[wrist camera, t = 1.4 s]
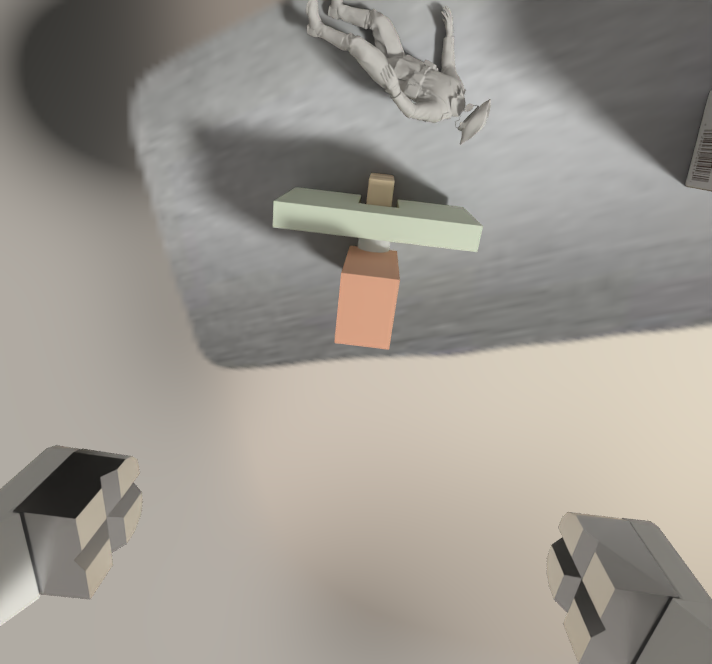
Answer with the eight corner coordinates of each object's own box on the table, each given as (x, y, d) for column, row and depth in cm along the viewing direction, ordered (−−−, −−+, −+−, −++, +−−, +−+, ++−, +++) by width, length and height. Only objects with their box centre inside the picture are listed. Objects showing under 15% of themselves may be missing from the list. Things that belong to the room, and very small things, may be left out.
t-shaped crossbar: (296, 187, 31) (254, 212, 21) (463, 207, 31) (499, 242, 21) (291, 274, 34) (253, 332, 24) (445, 292, 34) (470, 359, 24)
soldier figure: (363, -48, 27) (536, 33, 26) (356, 32, 32) (503, 106, 30) (287, 11, 24) (476, 108, 23) (292, 90, 29) (450, 176, 27)
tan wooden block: (371, 172, 32) (369, 178, 27) (393, 175, 32) (394, 181, 27) (359, 278, 35) (355, 298, 31) (378, 280, 35) (378, 300, 31)
